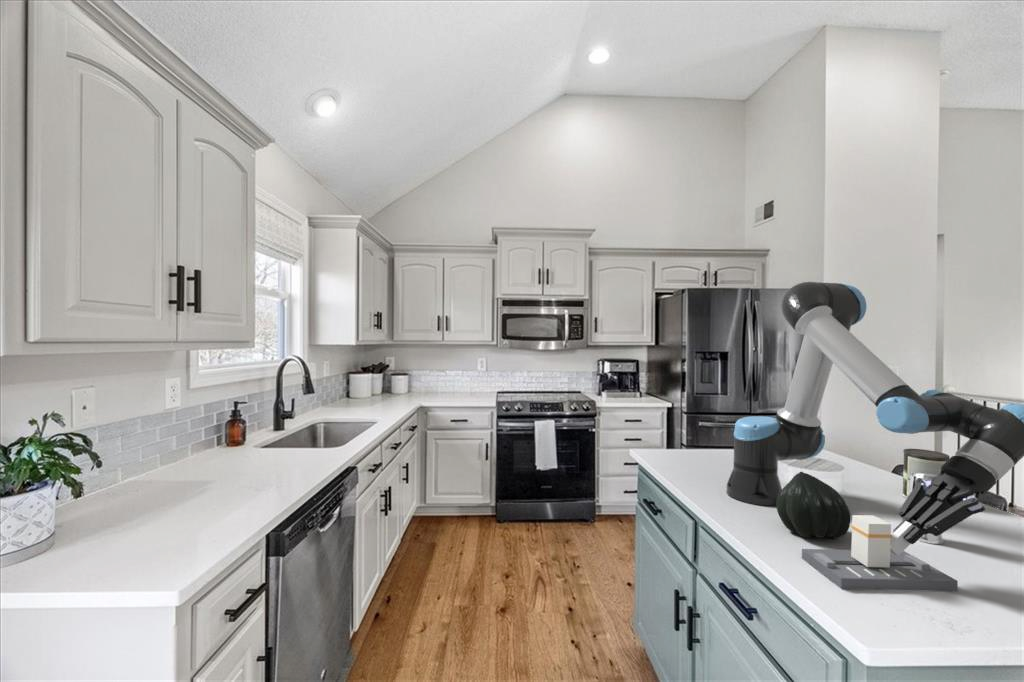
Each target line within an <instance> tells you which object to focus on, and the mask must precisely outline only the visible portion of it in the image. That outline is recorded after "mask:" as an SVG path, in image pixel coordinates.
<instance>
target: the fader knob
mask: <svg viewBox="0 0 1024 682" xmlns="http://www.w3.org/2000/svg"><path fill="white" fill-rule="evenodd" d="M851 520H852V521H851V524H850V525H851V527H850V528H851V544H850V545H851V547H850V550H851V557H853V558H855V559H856V560H858V561H859V562H861V563H862V564H864V565H865V566H867V567H890V542H891V538H892V524H891V523H890V522H888V521H886V520H883V519H882V518H879V517H877V516H876V515H869V514H868V515H865V514H863V515H862V514H861V515H860V514H853V515H852V518H851Z"/></svg>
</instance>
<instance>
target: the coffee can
mask: <svg viewBox="0 0 1024 682" xmlns="http://www.w3.org/2000/svg"><path fill="white" fill-rule="evenodd" d="M902 451H903V469H902V470H903V474H902V476H903V478H902V495H901V496H902V497H903V496H904V498H905V497H906V498H905V499H907V498H908V496H909V482H910V474H911V473H926V474H932V475H937V476H938V475H940V473H941V467H942V465H943V464H944V463H946V462H947V461H948V460H949V459H950V458H951V456H950V455H948V454H946V453H945V452H940V451H935V450H931V449H930V450H929V449H922V448H905V449H903V450H902Z"/></svg>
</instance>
